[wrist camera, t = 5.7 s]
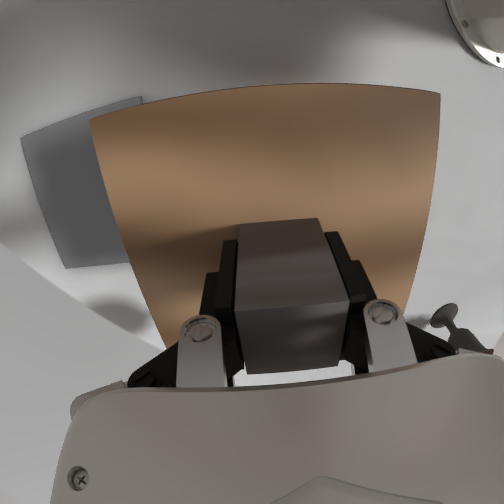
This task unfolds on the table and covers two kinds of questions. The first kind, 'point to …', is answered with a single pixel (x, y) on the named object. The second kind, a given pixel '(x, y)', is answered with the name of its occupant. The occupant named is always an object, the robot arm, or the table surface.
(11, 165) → the table surface
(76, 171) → the mat
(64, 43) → the table surface
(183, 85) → the table surface
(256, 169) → the cover
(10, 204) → the table surface
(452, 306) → the sundae
